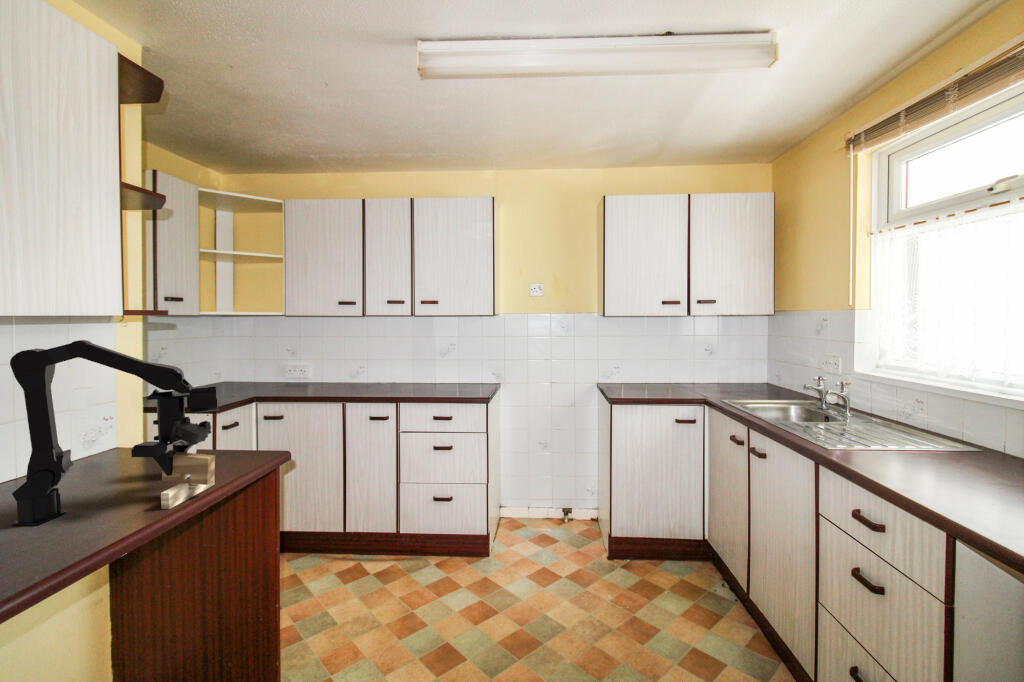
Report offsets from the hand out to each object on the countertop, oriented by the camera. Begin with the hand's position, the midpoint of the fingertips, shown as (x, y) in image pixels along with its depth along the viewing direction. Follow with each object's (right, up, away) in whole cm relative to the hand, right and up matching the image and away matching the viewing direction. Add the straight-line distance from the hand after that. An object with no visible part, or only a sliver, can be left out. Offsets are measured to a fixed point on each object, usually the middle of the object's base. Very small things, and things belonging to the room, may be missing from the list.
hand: (173, 473), depth 116 cm
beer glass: (-9, -5, +16) cm, 19 cm away
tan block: (+4, -2, 0) cm, 4 cm away
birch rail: (+4, -6, 0) cm, 7 cm away
